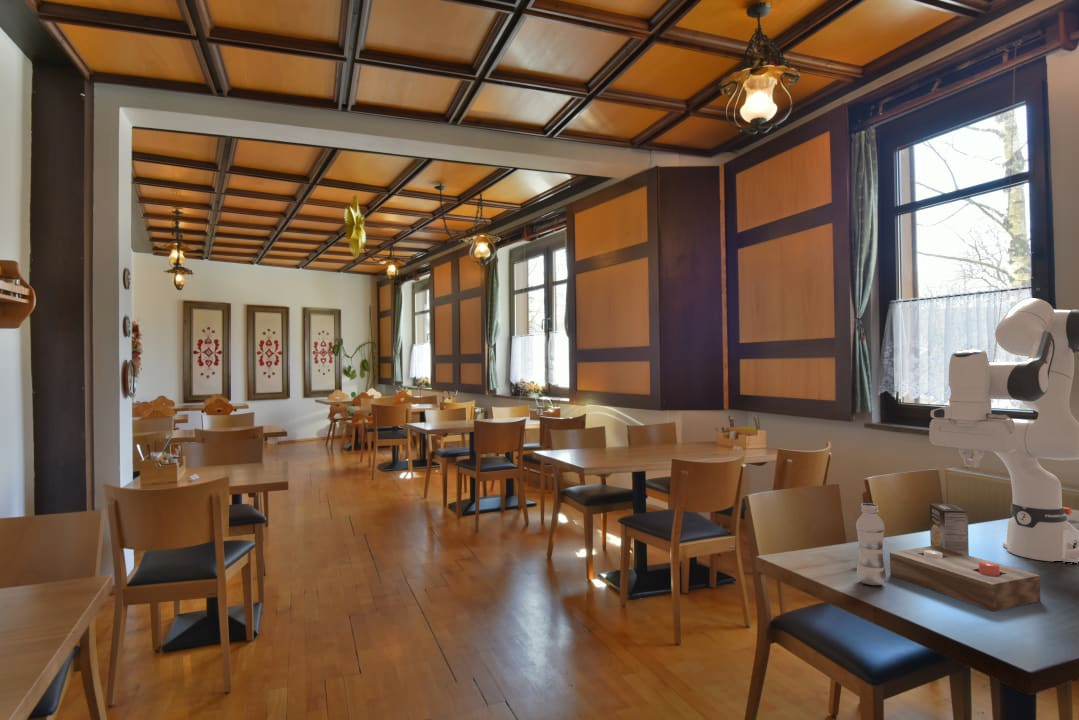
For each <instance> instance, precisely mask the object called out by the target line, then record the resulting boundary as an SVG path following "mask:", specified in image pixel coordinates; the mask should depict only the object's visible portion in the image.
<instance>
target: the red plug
mask: <svg viewBox="0 0 1079 720" xmlns="http://www.w3.org/2000/svg"><path fill="white" fill-rule="evenodd" d="M991 562H992V561H990V562H979V572H980V573H983V574H987V575H990V576H998V575H1000V566H999V565H998V564H999V563H997V564H995V563H996V562H994V563H991Z"/></svg>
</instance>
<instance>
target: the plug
mask: <svg viewBox="0 0 1079 720" xmlns="http://www.w3.org/2000/svg"><path fill="white" fill-rule="evenodd" d="M924 556H927V557H930V558H933V559H939V558H942V553H941V552H938V551H933V550H925V551H924Z"/></svg>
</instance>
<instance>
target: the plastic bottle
mask: <svg viewBox="0 0 1079 720" xmlns="http://www.w3.org/2000/svg"><path fill="white" fill-rule="evenodd" d="M878 507H879V506H878V504H876V503H871V502H870V503H867V502H866V503H861V509H860V510H861V512H862V513H861V515H860V516H859V517H858V519H857V520H856V523H855V526H856V527H855V528H856V533H857V540H858V562H857V565H856V576H857V579H858V581H859V582H861V583H862V584H864V585H870V586H881V585H884V583H885V581H886V578H887V574H886V573H887V572H886V568H885V566H884V565H885V564H884V563H885V561H884V555H883V554H884V553H883V550H884V549H883V547H884V546H883V545H884V537H885V528H886V527H885V524H884V522H883V520H882V518H880V516H879V515H878V514H879V508H878Z"/></svg>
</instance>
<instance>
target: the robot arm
mask: <svg viewBox="0 0 1079 720" xmlns="http://www.w3.org/2000/svg"><path fill="white" fill-rule="evenodd" d="M994 335H995V336H994V337H995V341H996V342H997V344H998V345H999V346H1000V347H1001V349H1003V350H1004V351H1006V352H1007V353H1009V354H1012V355H1014V356H1022V357H1028V359H1027V360H1024V361H1023V360H1022V361H1011V362H1010V361H1007V362H1006V361H1005V362H1004V361H1003V362H990V360H989V358H988V354H987V351H986V350H983V349H975V348H974V349H964V350H958V351H955V352H953V353H952V354H951V355H950V359H949V363H948V386H949V389H950V395H949V399H948V403H949V405H946V406H942V407H940V408H939V407H938V408H936V409H935V408H934V409H932V410H931V411H930V417H931V418H932V419H931V420H930V422H929V429H928V431H929V432H928V433H929V434H928V437H929V442H930V443H931V445H932V446H941V447H949V448H957V449H958V453H959V455H960V457H961V458H962V459H963V466H964V467H970V468H980V467H981V465H980V464H981V462H980V461H981V460H982V458H983V456H985V452H993V453H994V454H995V455H997V457H998V458H999V459H1000V460H1001V461H1002V462H1003V464H1004V466H1005V468H1006V469H1007V470H1008V474H1009V477H1010V482H1011V490H1012V502H1011V503H1010V515H1011V516H1012V517H1011V518H1010V519H1009V520H1008V521H1007V531H1006V532H1007V533H1006V541H1005V542H1003V543H1002V546H1003V547H1004V548H1005V549H1006V550H1007V552H1008V553H1010V554H1013V555H1015V556H1019V557H1023V558H1026V559H1031V560H1037V561H1045V562H1054V561H1067V562H1078V561H1079V530H1078V529H1077V528H1076V527H1074V526H1073V525H1072V524H1071V523H1070V522H1069V521H1068V518H1067V516H1071V515H1072V513H1073V510H1072V508H1071V507H1065V506H1063V503H1062V502H1063V499H1062V497H1063V496H1062V493H1063V492H1062V491H1063V490H1062V483H1061V481H1060V479H1059V478H1058V477H1057V475H1055V474H1053V473H1052V472H1050V471H1048V470H1047V469H1045V468H1043V467H1042V465H1041V464H1040V463H1039V461H1038V459H1045V460H1054V461H1076V460H1079V421H1078V420H1077V419H1076V418H1075V416H1073V414H1072V411H1071V408H1070V407H1071V406H1070V399H1071V392H1072V386H1073V382H1074V375H1075V355H1074V354H1075V353H1079V309H1075V308H1074V309H1071V310H1070V309H1054V308H1053V306H1052V305H1051V304H1050V303H1049V302H1048V301H1045V300H1043V299H1041V298H1028V299H1025V300H1024V299H1023V300H1022V301H1020V302H1019V303H1017V304H1016V305H1015V306H1013V307H1012V308H1011V309H1010V310H1009V311H1008V312H1006V314H1005V315H1004V316H1003V317H1002V319H1001V320H1000V321H999V322H998V324H997V326H996V328H995V333H994ZM992 400H1015V401H1021V402H1022V403H1023V404H1024V406H1025V407H1027V408H1029V409H1031V410H1032V411H1034V412H1037V413H1038V415H1037V418H1036V419H1027V418H1026V419H1025V418H1012V417H1010V416H1009V415H1007V414H996V413H992ZM970 450H972V454H973V455H974V456H973V458H971V456H970V454H969V453H970Z"/></svg>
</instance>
